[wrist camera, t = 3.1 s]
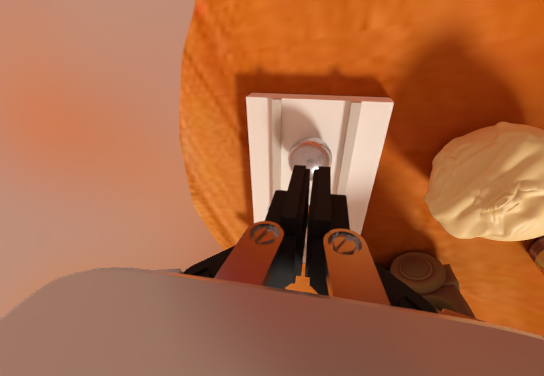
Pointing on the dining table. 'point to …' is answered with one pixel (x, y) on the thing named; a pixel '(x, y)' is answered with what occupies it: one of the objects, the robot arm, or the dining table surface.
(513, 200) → the sculpture
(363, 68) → the dining table surface
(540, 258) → the sauce bottle
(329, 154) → the steel ball
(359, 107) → the white tray
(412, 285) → the wooden toy train
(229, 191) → the dining table surface
